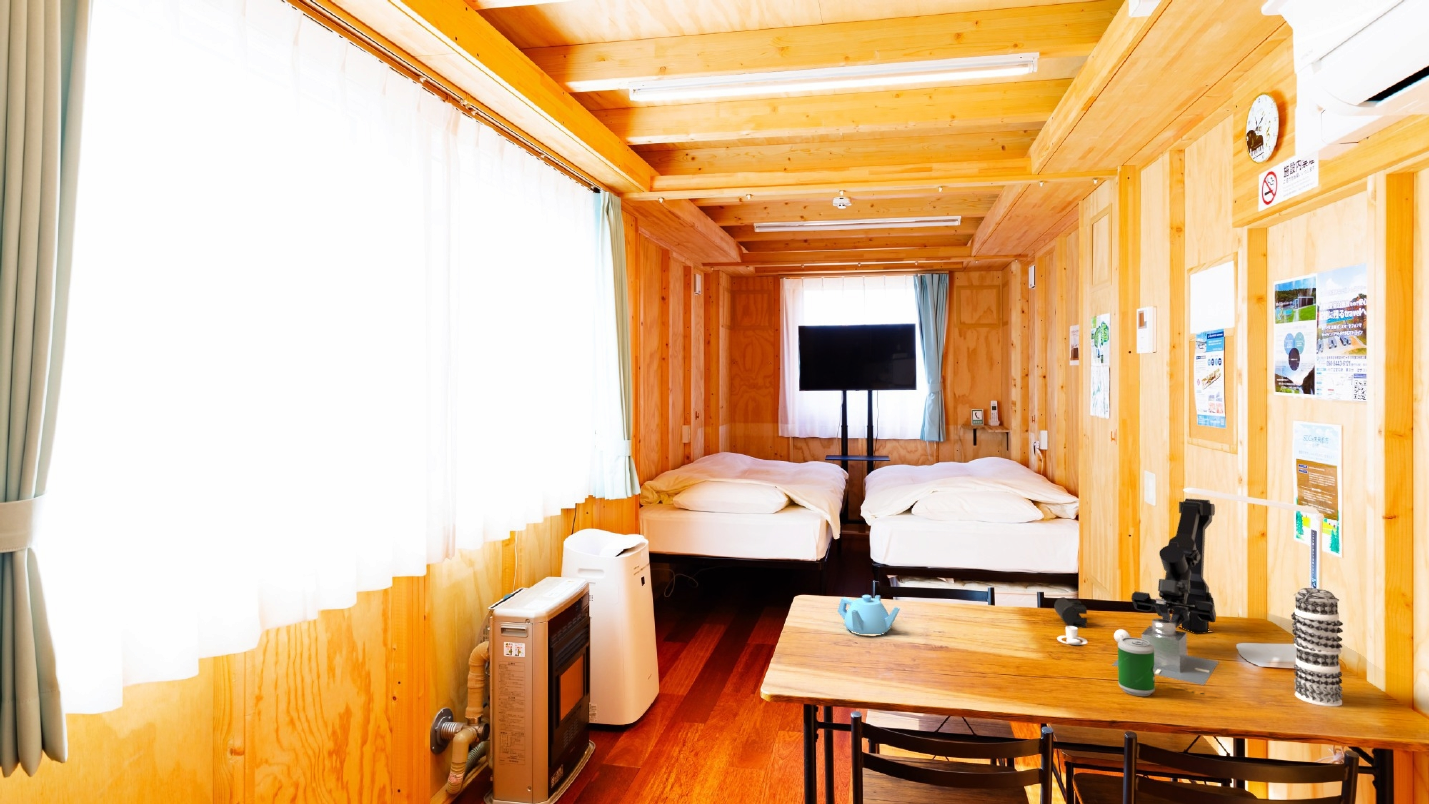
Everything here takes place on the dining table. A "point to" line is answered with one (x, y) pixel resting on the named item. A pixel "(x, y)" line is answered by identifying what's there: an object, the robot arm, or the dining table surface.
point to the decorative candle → (1317, 647)
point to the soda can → (1136, 666)
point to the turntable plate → (1192, 672)
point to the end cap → (1071, 612)
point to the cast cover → (1167, 645)
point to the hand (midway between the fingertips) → (1168, 634)
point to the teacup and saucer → (1072, 636)
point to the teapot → (866, 615)
